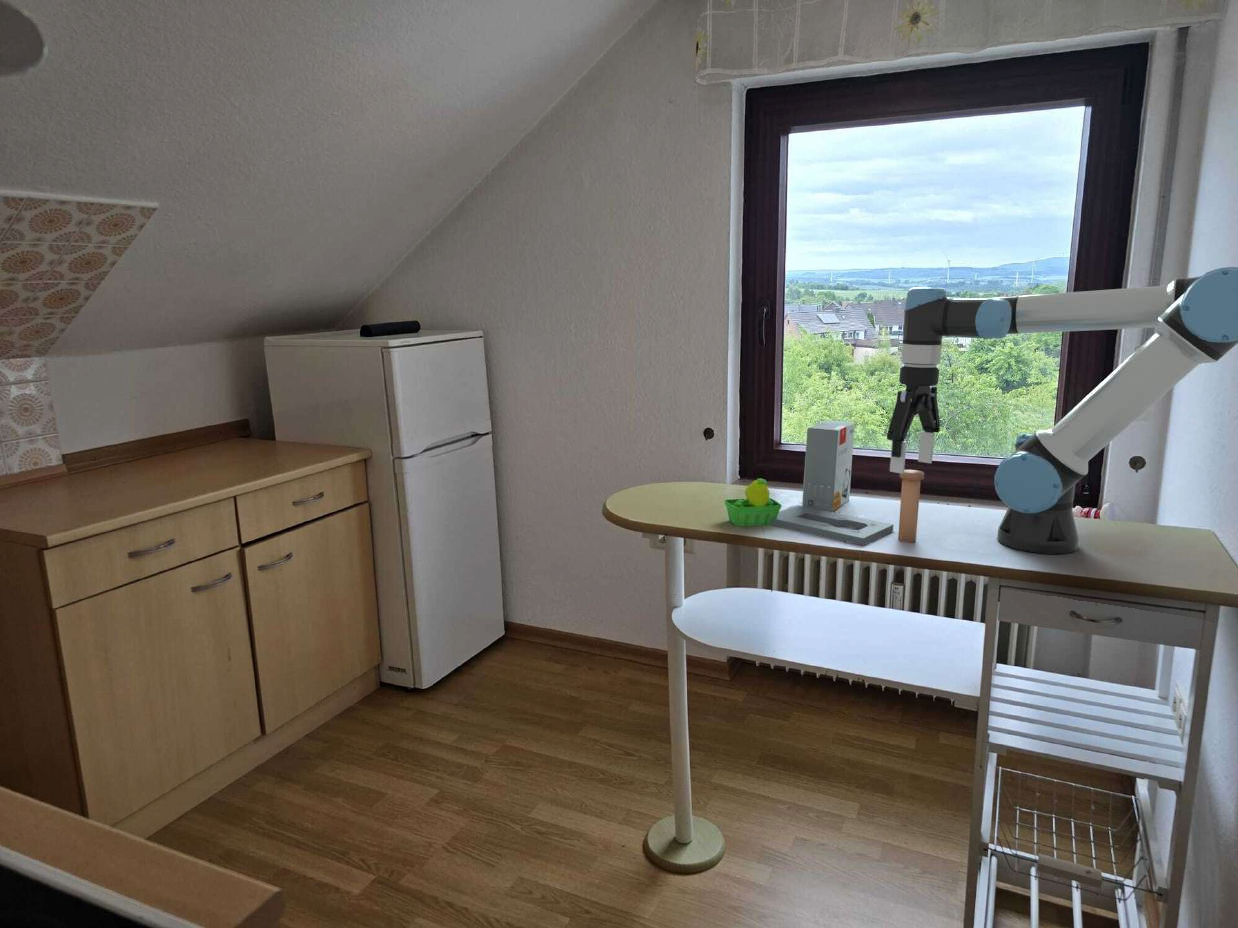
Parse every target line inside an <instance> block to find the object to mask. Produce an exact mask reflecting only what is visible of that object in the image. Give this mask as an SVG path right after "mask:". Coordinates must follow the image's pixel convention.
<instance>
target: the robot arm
mask: <svg viewBox="0 0 1238 928" xmlns="http://www.w3.org/2000/svg"><path fill="white" fill-rule="evenodd" d="M904 307H905V308H904V310H903V311H904V312H903V313H904V314H903V315H904V316H903V317H904V318H903V333H902V335H903V336H902V346H901V348H900V352H901V359H900V362H901V363H902V364H903V365H901V366H900V368H899V380H898V382H899V383H900V384H901V385H905V386H906V388H905V391H904V390H898V391H897V396H896V403H895V405H894V409H893V412H892V416H891V420H890V423H889V427H888V430H887V434H886V439H887V440H888V441H891V449H890V451H891V453H890V463H889V472H892V473H896V474H900V473H901V474H903V473H904V470H905V467H906V466H905V465H906V464H905V463H906V456H907V455H906V453H907V441H906V440H905V439H906V437H907V435H908V432H909V430H910V428H911V426H912V423H913V420H914V418H915V416H916V415H918V418H919V421H920V424H921V428H922V431H920V435H919V436H920V438H919V447H918V458H917V462H919V463H925V464H932V463H933V455H934V454H933V453H934V444H935V443H934V442H935V433H939V432H940V430H941V428H940V426H941V421H940V413H939V405H938V387H937V385H938V384H939V376H940V368H939V366H938V365H940V364H941V358H942V357H941V356H942V344H943V342H942V341H943V338H944V337H947V338H948V337H949V338H950V337H954V338H968V339H983V340H993V339H994V340H995V339H997V340H998V339H999V340H1001V339H1003V338H1005V337H1006V336H1007V335H1017V334H1032V333H1033V334H1036V333H1037V334H1039V333H1059V332H1081V331H1082V332H1083V331H1102V330H1103V331H1104V330H1106V331H1107V330H1124V329H1125V330H1128V329H1131V330H1132V329H1149V328H1150V329H1151V328H1152V329H1154V328H1155V329H1156V331H1155V332H1154V333H1153V334H1152V335H1151V336H1150V337H1149V338H1148V339H1146V341H1145V342H1144V343H1142V345H1140V346H1139V347H1138V348H1137V349H1136V350H1135V351H1134V352H1133V353H1131V355H1130V356H1128V358H1126V359H1125V360H1124V361H1123V362H1122V363H1121V364H1120V365H1119V366H1118V367H1117V368H1116V369H1115V370H1113V371H1112V372H1111V373H1110V374H1109V375H1108V376H1107V377H1106V378H1105V379H1104V380H1103V381H1101V382H1100V383H1099V384H1098V385H1097V386H1096V387H1095V388H1094V389H1092V391H1091V392H1090V393H1089V394H1087V395H1086V396H1085V397H1084V398H1083V399H1082V400H1081V401H1080V402H1079V403H1078V404H1077V405H1076V406H1074V407H1073V408H1072V409H1071V410H1070V411H1069V412H1068V413H1067V414H1066V415H1065V416H1063V418H1061V420H1059V421H1058V422H1057V423H1056V424H1055V425H1054V426H1053V427H1052V428H1049V429H1038V430H1036V431H1035V432H1034V433H1020V434H1018V435H1017V437H1016V439H1015V440H1016V441H1015V444H1014V447H1015V450H1014V452H1013V453H1012V454H1010V455H1009V456H1006V457H1005V458H1004V459H1003V460H1002V461H1001V462H1000V463H999V464H998V467H997V468H996V471H995V474H994V481H993V482H994V487H995V492H996V494H997V496H998V497H999V499H1000V501H1002V502H1003V504H1005V505H1006V506H1007V507H1008V508H1007V509H1006V511H1005V514H1004V516H1003V518H1002V519H1001V522H1000V524H999V526H998V529H997V541H998V542H999V543H1000V544H1002V545H1004V546H1007V547H1009V548H1012V549H1015V550H1018V551H1019V550H1020V551H1024V552H1030V553H1036V554H1049V555H1054V554H1055V555H1058V554H1059V555H1061V554H1062V555H1064V554H1070V553H1073V552H1076V551H1077V550H1078V547H1079V541H1080V540H1079V539H1080V538H1079V534H1078V530H1077V526H1076V521H1075V518H1074V513H1073V507H1074V499H1075V489H1076V484H1077V483H1078V482H1079V481H1080V480H1081V479H1083V478H1084V477H1085V476H1086V475H1088V474H1089V473H1088V472H1089V461H1090V460H1091V459H1092V458H1094V457H1095V456H1096V455H1098V454H1099V452H1100V451H1101V450H1103V449H1104V448H1105V447H1106V446H1108V445H1109V444H1110V443H1111V442H1112V441H1113V440H1114V439H1115V438H1116V437H1118V436H1119V435H1120V434H1122V432H1123V431H1124V430H1125V429H1127V428H1128V427H1130V425H1131V424H1132V423H1134V422H1135V421H1136V420H1137V419H1138V418H1140V417H1141V416H1142V415H1143V414H1144V413H1145V412H1146V411H1147V410H1148V409H1150V408H1151V407H1152V406H1153V405H1154V404H1155V403H1157V402H1158V401H1159V400H1160V399H1161V398H1162V397H1163V396H1164V395H1166V394H1167V393H1168V392H1169V391H1170V390H1171V389H1173V388H1174V387H1175V386H1176V385H1178V383H1179V382H1181V381H1182V380H1183V379H1184V378H1185V377H1187V376H1188V375H1189V374H1190V372H1193V370H1194V369H1195V368H1197V366H1199V365H1201V364H1210V363H1211V364H1212V363H1213V364H1214V363H1217V362H1218V361H1219V360H1220V359H1221V358H1222V357H1224V356H1225V355H1226V354H1227V353H1229V351H1231V350H1232V349H1233V348H1234V347H1235V346H1237V345H1238V266H1226V267H1220V268H1216V269H1212V270H1210V271H1207V272H1206V273H1204V274H1203V275H1201V276H1200V275H1199V276H1196V277H1195V276H1194V277H1188V278H1177V279H1174V280H1172V281H1171V282H1170V283H1169V284H1167V285H1155V286H1143V287H1130V288H1128V287H1127V288H1115V289H1114V288H1113V289H1101V290H1099V289H1098V290H1088V291H1086V290H1085V291H1084V290H1082V291H1072V292H1071V291H1070V292H1061V293H1059V292H1058V293H1045V294H1044V293H1043V294H1031V295H1019V296H1002V297H1000V296H997V297H996V296H994V297H988V298H952V297H948V295H947V290H946V288H944V287H911V288H910V289H909V290H908V291H907V293H906V299H905V306H904Z"/></svg>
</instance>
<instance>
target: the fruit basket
mask: <svg viewBox="0 0 1238 928" xmlns="http://www.w3.org/2000/svg"><path fill="white" fill-rule="evenodd" d="M744 494H745V496H746V498H736V499H735V498H733V499H732V498H731V499H724V504H725V507H726V511H727V516H728V520H729V522H731V523H732V524H733V525H735V526H736V527H751V526H752V527H753V526H764V525H771V524H770V520H771V518H777V516H778V513H779V512H780V510H781V508H782V507H783V506H782V504H781V503H779V502H778V501H776V500H775V499H774V498H771V497H770V489H769V487H768V483H767V481H766V479H765V478H764V479H763V478H757V479H756V480H754V481H753V482H752V483H750V484H749V485H748V486H747V487H746V488H745V491H744Z"/></svg>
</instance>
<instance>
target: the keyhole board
mask: <svg viewBox="0 0 1238 928" xmlns="http://www.w3.org/2000/svg"><path fill="white" fill-rule="evenodd" d="M769 525H772V526H775V527H776V526H777V527H780V528H785V529H790V530H793V531H798V532H803V533H807V534H812V535H816V536H820V537H824V538H825V537H826V538H829V539H833V540H838V541H843V542H846V543H847V542H848V543H852V544H856V545H861V546H864V545H866V544H869V543H871V542H873V541H875V540H877V539H879V538H881V537H883V536H886V535H887V534H890V533H892V532H894V524H893V523H889V522H883V521H878V520H873V519H869V518H868V519H867V518H865V517H864V518H862V517H859V516H854V515H847V514H842V513H838V512H835V511H833V512H829V511H824V510H819V509H814V508H809V507H804V506H802V505H799V504H798V505H794V506H791V507H788V508H786V509H783V510H781V511H780V510H779V513H778V516H777V518H771V520H770V524H769ZM843 527H849V528H854V529H855V530H854V529H846V528H843ZM857 529H858V530H857Z"/></svg>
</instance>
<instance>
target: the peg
mask: <svg viewBox="0 0 1238 928" xmlns="http://www.w3.org/2000/svg"><path fill="white" fill-rule="evenodd" d="M899 478H900V479H901V493H900V495H901V496H900V507H899V508H900V509H899V522H898V535H897V540H898V541H900V542H904V543H914V542H916V541H917V532H918V519H919V517H918V516H919V505H920V493H921V492H920V491H921V481H922V480H924V479H925V472H924V471H922V470H917V469H904V473H903V474H901V473H899Z"/></svg>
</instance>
